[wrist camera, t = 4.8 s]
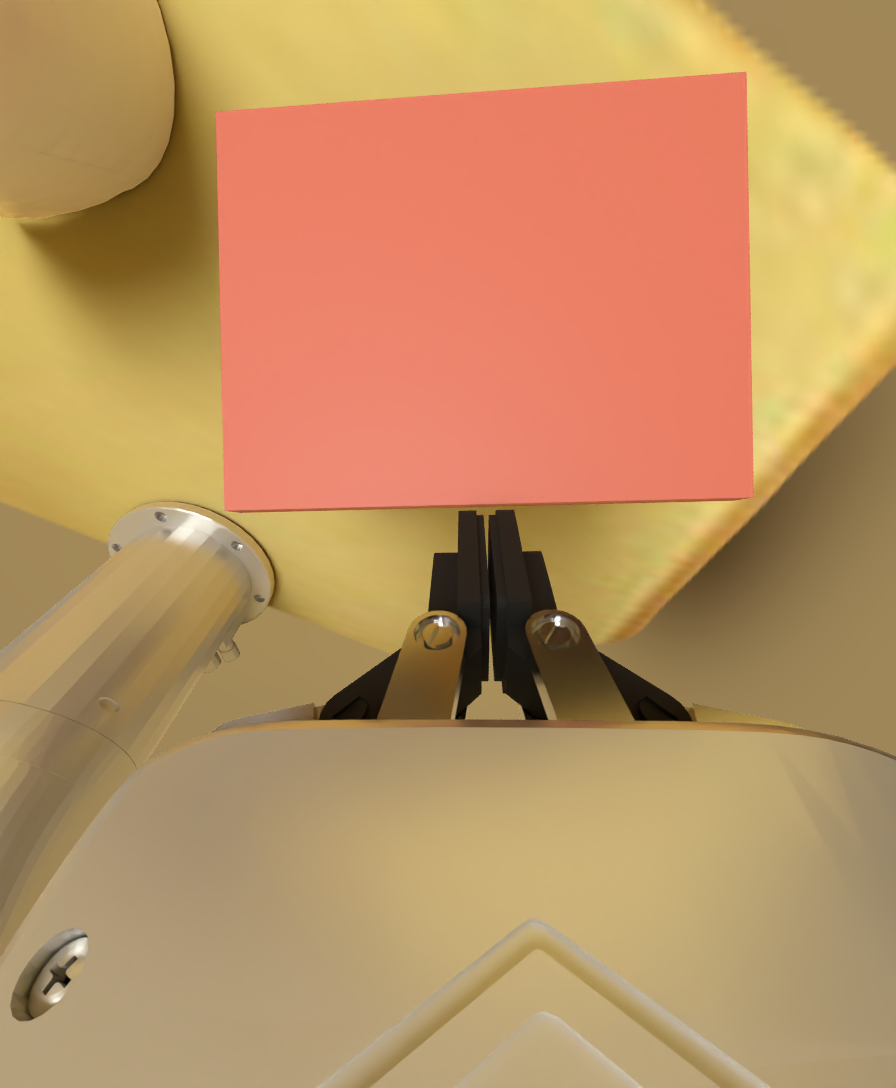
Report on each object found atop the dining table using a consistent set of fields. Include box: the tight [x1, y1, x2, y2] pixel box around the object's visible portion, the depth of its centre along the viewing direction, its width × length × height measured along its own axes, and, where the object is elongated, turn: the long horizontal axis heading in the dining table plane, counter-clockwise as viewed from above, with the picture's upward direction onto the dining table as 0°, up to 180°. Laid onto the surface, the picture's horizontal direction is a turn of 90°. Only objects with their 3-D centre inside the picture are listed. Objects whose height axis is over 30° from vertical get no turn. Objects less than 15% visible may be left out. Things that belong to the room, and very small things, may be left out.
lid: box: [216, 72, 754, 513], centre depth 14 cm, size 14×18×1 cm
